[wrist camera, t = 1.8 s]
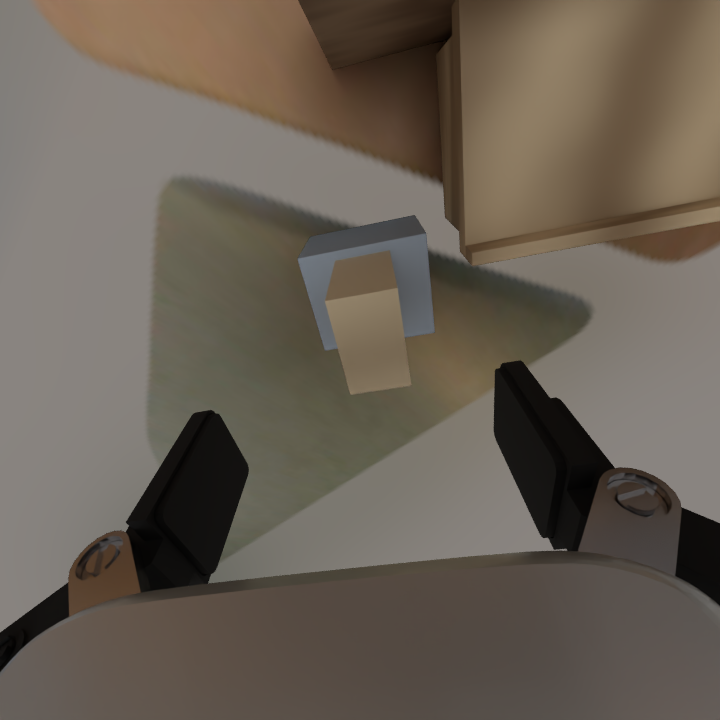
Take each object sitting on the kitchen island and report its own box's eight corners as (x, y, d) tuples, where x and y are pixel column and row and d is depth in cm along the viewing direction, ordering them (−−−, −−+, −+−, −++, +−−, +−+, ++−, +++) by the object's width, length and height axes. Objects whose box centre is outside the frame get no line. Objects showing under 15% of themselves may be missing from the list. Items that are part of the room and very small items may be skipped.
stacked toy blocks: (414, 215, 22) (447, 266, 13) (423, 302, 25) (454, 391, 16) (310, 236, 22) (274, 298, 14) (332, 318, 26) (314, 410, 17)
